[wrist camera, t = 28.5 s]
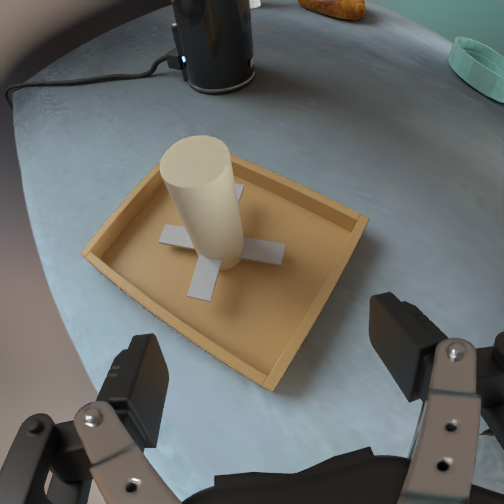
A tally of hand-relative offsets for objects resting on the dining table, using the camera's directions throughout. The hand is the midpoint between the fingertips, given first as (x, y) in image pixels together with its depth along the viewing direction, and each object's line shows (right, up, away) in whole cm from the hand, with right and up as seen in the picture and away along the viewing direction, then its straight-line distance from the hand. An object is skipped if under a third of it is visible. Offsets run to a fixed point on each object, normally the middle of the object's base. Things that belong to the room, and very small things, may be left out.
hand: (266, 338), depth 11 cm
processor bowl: (+43, +35, +29) cm, 63 cm away
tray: (-3, +3, +16) cm, 17 cm away
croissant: (+17, +56, +41) cm, 71 cm away
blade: (-3, +3, +16) cm, 16 cm away
